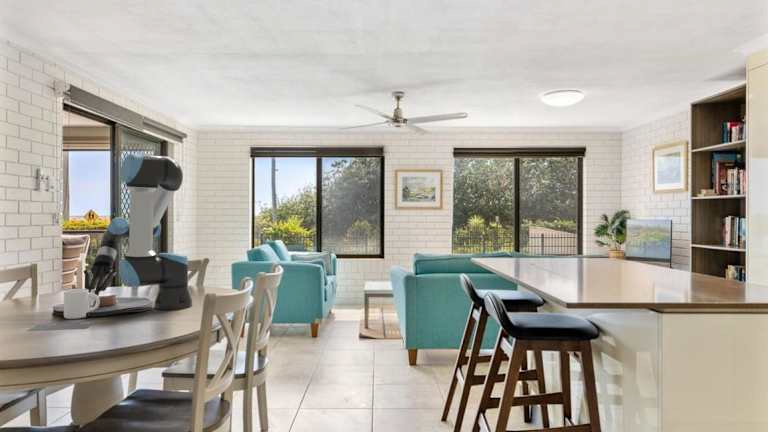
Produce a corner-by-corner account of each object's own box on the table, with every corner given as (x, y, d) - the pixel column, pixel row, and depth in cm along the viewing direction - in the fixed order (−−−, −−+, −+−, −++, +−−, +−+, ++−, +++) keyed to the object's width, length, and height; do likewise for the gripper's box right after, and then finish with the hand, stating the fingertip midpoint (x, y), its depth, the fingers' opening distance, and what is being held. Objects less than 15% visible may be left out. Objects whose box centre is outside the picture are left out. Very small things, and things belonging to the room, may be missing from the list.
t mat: (101, 320, 183) (101, 319, 183) (86, 329, 170) (86, 328, 170) (46, 322, 180) (46, 321, 180) (26, 332, 166) (26, 330, 166)
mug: (100, 312, 195) (99, 287, 195) (99, 316, 188) (99, 290, 188) (64, 315, 189) (64, 289, 189) (62, 320, 182) (62, 293, 182)
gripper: (122, 264, 217) (109, 308, 201) (91, 264, 214) (75, 309, 198) (118, 253, 211) (104, 298, 195) (86, 254, 209) (69, 299, 193)
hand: (89, 304), depth 197 cm, fingers closed
